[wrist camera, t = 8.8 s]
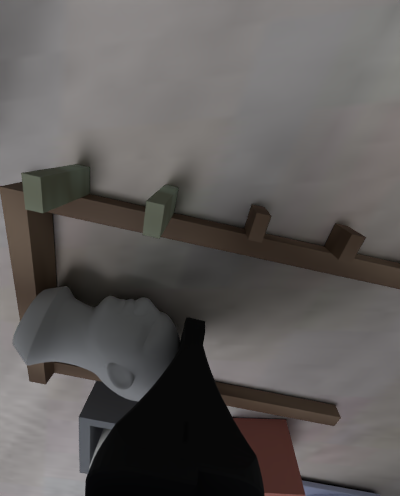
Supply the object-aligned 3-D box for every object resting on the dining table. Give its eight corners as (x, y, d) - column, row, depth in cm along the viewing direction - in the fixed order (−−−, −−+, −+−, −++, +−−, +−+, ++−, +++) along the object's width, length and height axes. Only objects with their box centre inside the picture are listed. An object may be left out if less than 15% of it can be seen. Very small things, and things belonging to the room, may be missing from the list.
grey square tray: (178, 448, 19) (173, 488, 17) (95, 433, 19) (79, 472, 17) (195, 397, 16) (192, 437, 14) (97, 378, 16) (78, 417, 14)
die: (280, 449, 19) (297, 525, 15) (230, 447, 19) (234, 521, 15) (285, 419, 17) (306, 497, 13) (230, 417, 17) (235, 493, 14)
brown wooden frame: (328, 413, 16) (353, 471, 13) (46, 358, 16) (8, 408, 13) (452, 250, 11) (540, 289, 8) (25, 152, 10) (-50, 157, 7)
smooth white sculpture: (197, 312, 15) (153, 375, 15) (82, 245, 13) (35, 317, 13) (211, 356, 11) (150, 440, 11) (43, 265, 9) (-25, 370, 9)
